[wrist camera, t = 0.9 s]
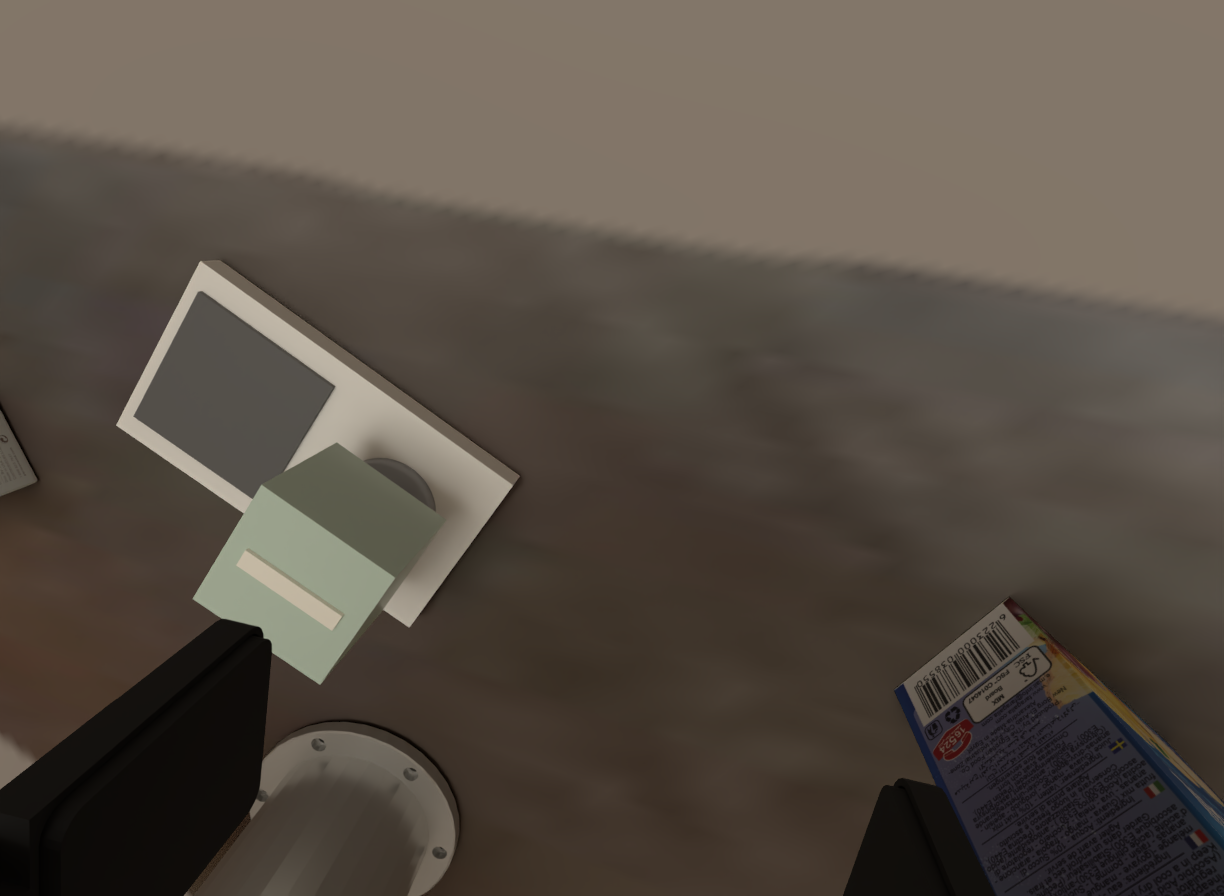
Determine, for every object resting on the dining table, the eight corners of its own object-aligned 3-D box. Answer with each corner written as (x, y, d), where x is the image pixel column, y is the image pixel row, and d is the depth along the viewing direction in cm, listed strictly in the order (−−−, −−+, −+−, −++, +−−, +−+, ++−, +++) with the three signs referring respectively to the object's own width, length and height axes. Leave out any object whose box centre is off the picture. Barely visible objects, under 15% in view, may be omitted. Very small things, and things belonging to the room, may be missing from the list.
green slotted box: (446, 520, 33) (393, 580, 27) (381, 612, 35) (317, 687, 29) (336, 442, 33) (258, 486, 27) (275, 539, 35) (189, 601, 29)
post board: (520, 475, 37) (464, 551, 28) (419, 613, 40) (338, 723, 31) (220, 260, 36) (59, 266, 27) (137, 418, 39) (-34, 473, 30)
